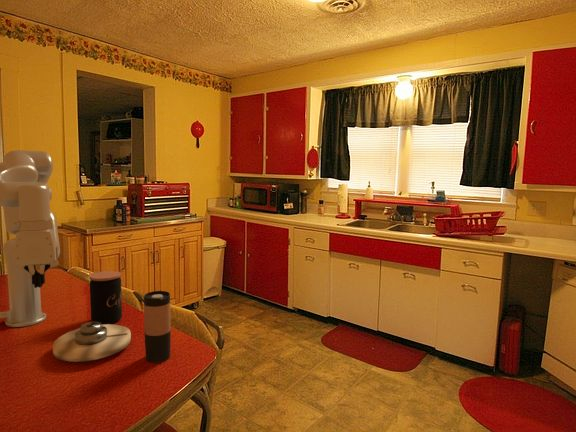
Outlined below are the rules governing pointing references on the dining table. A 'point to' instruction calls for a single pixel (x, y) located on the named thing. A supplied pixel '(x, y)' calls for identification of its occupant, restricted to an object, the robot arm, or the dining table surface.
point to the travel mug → (157, 326)
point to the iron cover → (90, 333)
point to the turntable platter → (73, 352)
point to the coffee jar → (105, 297)
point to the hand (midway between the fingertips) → (38, 286)
